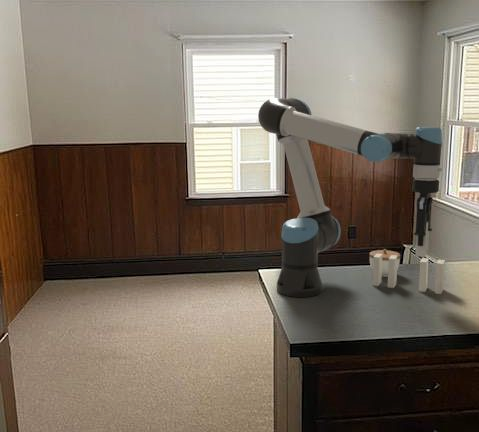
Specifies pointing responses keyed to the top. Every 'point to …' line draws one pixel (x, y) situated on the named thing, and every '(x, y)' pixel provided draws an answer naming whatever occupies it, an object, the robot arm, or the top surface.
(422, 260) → the tile
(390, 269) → the tile
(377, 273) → the tile
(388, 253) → the lidded jar
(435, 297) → the top surface
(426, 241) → the tile
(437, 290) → the tile
